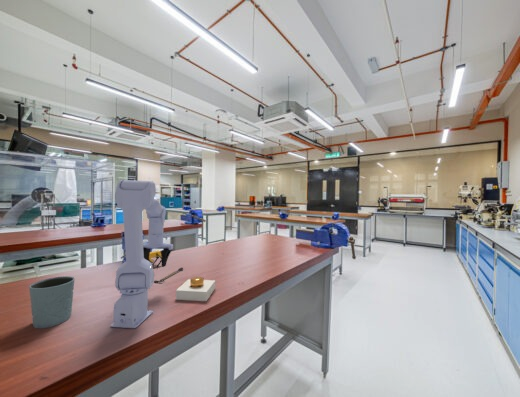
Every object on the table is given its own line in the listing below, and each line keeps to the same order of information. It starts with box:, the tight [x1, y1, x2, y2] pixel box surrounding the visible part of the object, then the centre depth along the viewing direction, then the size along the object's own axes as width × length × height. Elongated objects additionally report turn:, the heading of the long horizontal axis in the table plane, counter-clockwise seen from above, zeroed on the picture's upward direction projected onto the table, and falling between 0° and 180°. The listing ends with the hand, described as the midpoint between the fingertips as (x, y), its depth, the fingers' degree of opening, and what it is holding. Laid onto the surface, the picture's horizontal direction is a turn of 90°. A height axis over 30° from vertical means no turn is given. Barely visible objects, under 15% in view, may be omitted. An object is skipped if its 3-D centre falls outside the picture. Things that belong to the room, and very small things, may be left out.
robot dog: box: [149, 250, 162, 268], centre depth 119 cm, size 6×18×13 cm, turn 154°
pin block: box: [175, 278, 216, 302], centre depth 89 cm, size 12×12×4 cm
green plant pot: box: [28, 275, 76, 329], centre depth 67 cm, size 10×10×12 cm
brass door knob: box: [189, 276, 205, 288], centre depth 89 cm, size 5×5×6 cm
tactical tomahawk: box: [153, 267, 184, 285], centre depth 109 cm, size 21×7×1 cm, turn 166°
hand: (155, 265), depth 92 cm, fingers open, 7 cm apart
